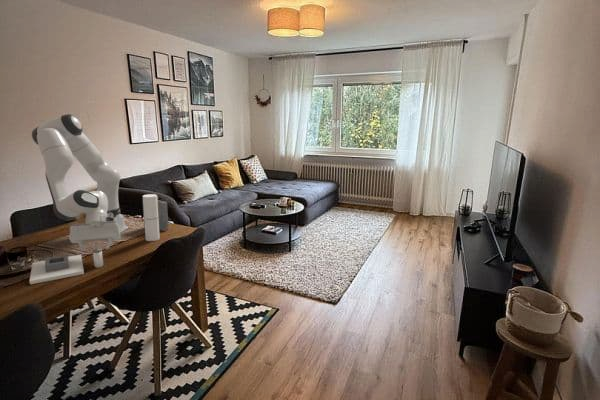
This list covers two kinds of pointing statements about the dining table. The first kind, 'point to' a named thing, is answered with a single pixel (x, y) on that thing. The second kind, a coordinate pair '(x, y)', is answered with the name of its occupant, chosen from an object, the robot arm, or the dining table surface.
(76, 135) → the robot arm
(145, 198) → the cylindrical container
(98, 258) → the plug
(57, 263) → the socket block
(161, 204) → the hip flask
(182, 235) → the dining table surface
